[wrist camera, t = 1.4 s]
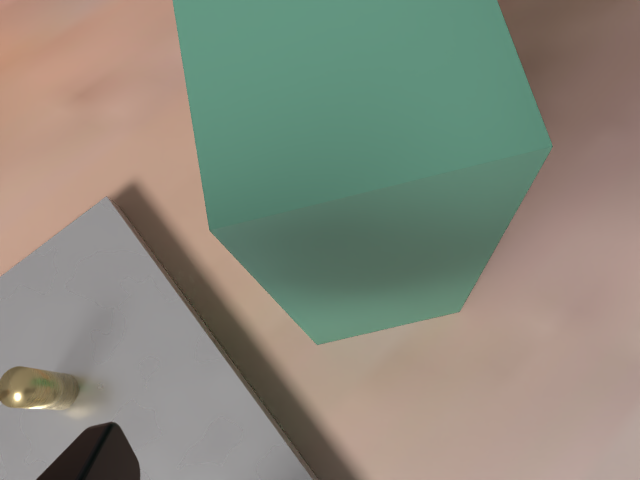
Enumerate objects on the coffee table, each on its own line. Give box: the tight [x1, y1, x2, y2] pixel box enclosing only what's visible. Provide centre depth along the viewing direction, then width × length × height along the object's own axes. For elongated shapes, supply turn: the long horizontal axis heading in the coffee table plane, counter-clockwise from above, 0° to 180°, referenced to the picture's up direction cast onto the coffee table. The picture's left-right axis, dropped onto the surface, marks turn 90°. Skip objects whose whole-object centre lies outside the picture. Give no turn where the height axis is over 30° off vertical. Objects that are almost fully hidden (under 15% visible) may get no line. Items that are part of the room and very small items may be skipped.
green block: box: [173, 0, 553, 345], centre depth 15 cm, size 5×5×12 cm
